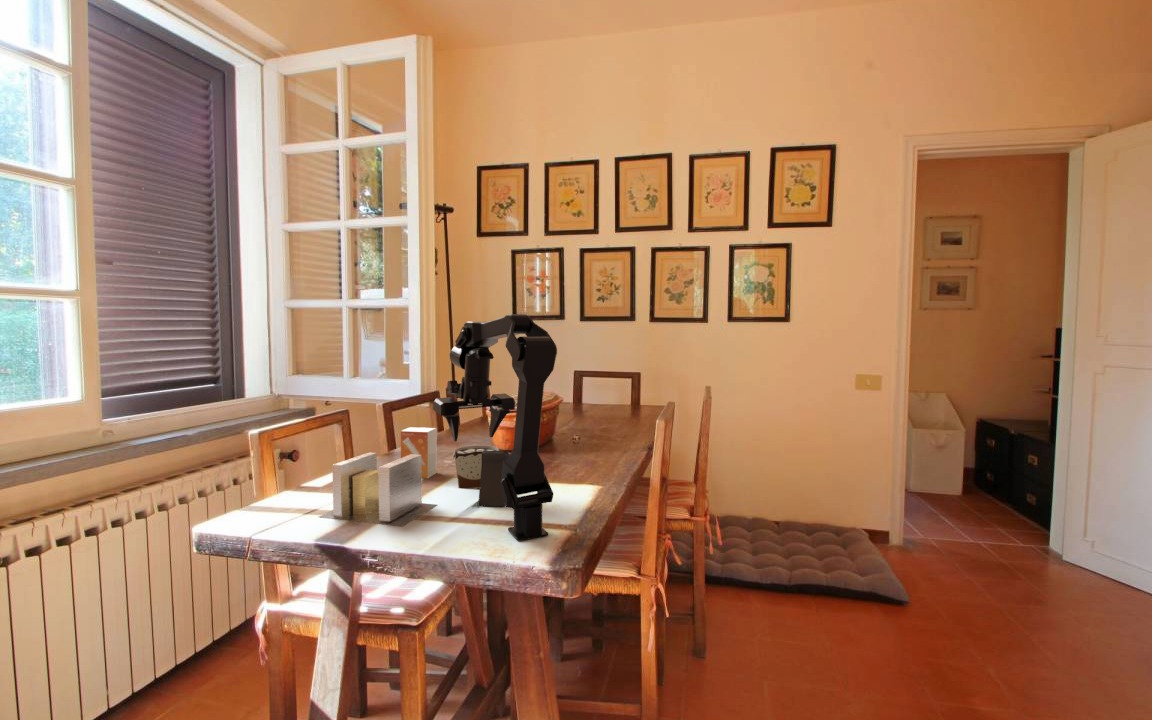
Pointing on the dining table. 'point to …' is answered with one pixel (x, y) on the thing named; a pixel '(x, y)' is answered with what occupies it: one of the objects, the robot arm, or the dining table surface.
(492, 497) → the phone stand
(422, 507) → the vise base
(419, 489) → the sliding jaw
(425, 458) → the small box
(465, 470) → the brown cake slice
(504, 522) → the dining table surface
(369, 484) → the brass block
